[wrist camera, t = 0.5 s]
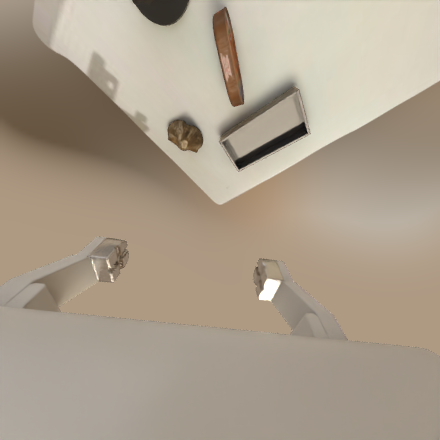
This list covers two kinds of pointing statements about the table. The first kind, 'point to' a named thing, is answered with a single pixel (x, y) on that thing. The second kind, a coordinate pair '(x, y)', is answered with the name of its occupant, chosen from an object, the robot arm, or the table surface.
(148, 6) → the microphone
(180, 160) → the table surface
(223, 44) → the tin
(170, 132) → the fossilized seashell
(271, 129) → the open rectangular box
